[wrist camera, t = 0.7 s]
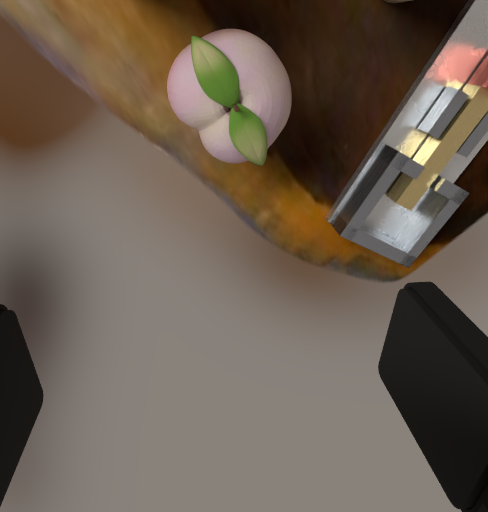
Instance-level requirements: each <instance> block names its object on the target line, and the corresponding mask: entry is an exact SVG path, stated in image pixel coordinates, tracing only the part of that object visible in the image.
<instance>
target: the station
mask: <svg viewBox="0 0 488 512" xmlns="http://www.w3.org/2000/svg"><path fill="white" fill-rule="evenodd" d="M487 55H488V0H468V1H467V3H466V4H465V6H464V7H463V9H462V10H461V12H460V13H459V15H458V16H457V18H456V20H455V21H454V23H453V24H452V26H451V27H450V29H449V30H448V32H447V33H446V35H445V36H444V38H443V39H442V41H441V42H440V44H439V45H438V47H437V48H436V50H435V51H434V53H433V54H432V56H431V57H430V59H429V60H428V62H427V63H426V65H425V66H424V68H423V70H422V71H421V73H420V74H419V76H418V77H417V79H416V80H415V82H414V83H413V85H412V86H411V88H410V89H409V91H408V92H407V94H406V95H405V97H404V98H403V100H402V101H401V103H400V104H399V106H398V107H397V109H396V110H395V112H394V113H393V115H392V117H391V118H390V120H389V121H388V123H387V124H386V126H385V127H384V129H383V130H382V132H381V133H380V135H379V136H378V138H377V139H376V141H375V142H374V144H373V145H372V147H371V148H370V150H369V151H368V153H367V154H366V156H365V157H364V159H363V160H362V162H361V164H360V165H359V167H358V168H357V170H356V171H355V173H354V174H353V176H352V177H351V179H350V180H349V182H348V183H347V185H346V186H345V188H344V189H343V191H342V192H341V194H340V195H339V197H338V198H337V200H336V201H335V203H334V204H333V206H332V207H331V209H330V211H329V212H328V214H327V215H326V217H325V218H326V220H327V221H328V222H330V223H331V224H332V226H333V227H334V228H335V230H336V231H337V232H338V234H339V235H340V236H342V237H344V238H346V239H348V240H350V241H352V242H354V243H357V244H359V245H361V246H363V247H365V248H367V249H370V250H372V251H374V252H376V253H378V254H380V255H382V256H385V257H387V258H389V259H391V260H393V261H395V262H398V263H400V264H402V265H404V266H406V267H408V268H409V267H410V266H411V264H412V263H413V262H414V261H415V259H416V258H417V257H418V256H419V255H420V253H421V252H422V251H423V250H424V248H425V247H426V246H427V245H428V244H429V242H430V241H431V240H432V239H433V237H434V236H435V235H436V234H437V233H438V231H439V230H440V229H441V228H442V226H443V225H444V224H445V223H446V222H447V220H448V219H449V218H450V217H451V215H452V214H453V213H454V212H455V211H456V209H457V208H458V207H459V206H460V204H461V203H462V202H463V201H464V200H465V198H466V197H467V196H468V195H469V193H468V192H466V191H465V190H463V189H461V188H459V187H458V186H456V185H454V184H453V183H454V182H455V181H456V179H457V178H458V177H459V176H460V174H461V173H462V172H463V171H464V169H465V168H466V167H467V166H468V164H469V163H470V162H471V160H472V159H473V158H474V157H475V155H476V154H477V153H478V152H479V150H480V149H481V148H482V146H483V145H484V144H485V143H486V141H487V140H488V111H487V112H486V114H485V115H484V116H483V117H482V119H481V120H480V121H479V123H478V124H477V125H476V127H475V128H474V129H473V131H472V132H471V133H470V135H469V136H468V137H467V138H466V140H465V141H464V142H463V144H462V145H461V146H460V148H459V149H458V150H457V152H456V153H455V154H454V155H453V157H452V158H451V159H450V161H449V162H448V163H447V165H446V166H445V167H444V169H443V170H442V171H441V173H440V174H439V175H438V176H437V178H436V179H435V180H434V182H433V183H432V184H431V186H430V187H429V188H428V190H427V191H426V192H425V194H424V195H423V196H422V197H421V199H420V200H419V201H418V203H417V204H416V205H415V207H414V208H413V209H412V211H410V210H408V209H406V208H404V207H402V206H400V205H398V204H397V203H395V202H394V201H393V200H391V199H390V198H389V197H388V196H386V195H387V194H388V193H389V191H390V190H391V188H392V187H393V186H394V184H395V183H396V181H397V180H398V179H399V177H400V176H401V175H402V173H405V174H407V175H408V176H410V177H412V178H414V179H415V180H416V179H417V178H418V176H419V175H420V174H421V172H422V171H423V170H424V168H425V167H424V166H423V165H421V164H419V163H417V162H416V161H414V160H412V159H413V158H414V156H415V155H416V154H417V152H418V151H419V149H420V148H421V147H422V145H423V144H424V142H425V141H426V140H427V138H428V137H429V136H432V137H434V138H436V139H438V138H439V137H440V135H441V134H442V132H443V131H444V130H445V128H446V127H447V126H448V124H449V123H450V121H451V120H452V119H453V117H454V116H455V115H456V113H457V112H458V110H459V109H460V108H461V106H462V105H463V104H464V102H465V101H466V100H467V98H468V97H469V95H467V94H466V93H465V92H463V91H462V90H463V88H464V87H465V85H466V84H467V83H468V81H469V80H470V78H471V77H472V76H473V74H474V73H475V71H476V70H477V69H478V67H479V66H480V64H481V63H482V62H483V60H484V59H485V57H486V56H487Z"/></svg>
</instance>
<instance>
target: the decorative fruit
mask: <svg viewBox="0 0 488 512" xmlns="http://www.w3.org/2000/svg"><path fill="white" fill-rule="evenodd" d="M167 92H168V98H169V101H170V104H171V107H172V109H173V111H174V113H175V114H176V115H177V116H178V118H179V119H180V120H181V121H183V122H184V123H185V124H187V125H189V126H191V127H193V128H196V129H197V130H198V131H199V134H200V138H201V141H202V143H203V145H204V147H205V148H206V150H207V151H208V152H209V153H210V154H211V155H212V156H214V157H215V158H217V159H219V160H221V161H224V162H228V163H242V162H246V161H250V162H252V163H254V164H258V165H260V166H263V165H264V162H265V160H266V156H267V149H268V148H269V147H270V145H271V144H272V143H273V142H274V141H275V140H276V138H277V137H278V135H279V134H280V133H281V131H282V130H283V128H284V126H285V125H286V123H287V120H288V118H289V115H290V110H291V103H292V94H291V85H290V81H289V77H288V74H287V72H286V70H285V68H284V66H283V64H282V62H281V61H280V59H279V58H278V56H277V55H276V53H275V52H274V51H273V49H272V48H271V47H270V46H269V45H268V44H267V43H265V42H264V41H263V40H262V39H260V38H259V37H257V36H255V35H254V34H252V33H249V32H247V31H244V30H240V29H222V30H217V31H214V32H211V33H209V34H207V35H205V36H203V37H201V38H199V37H197V36H192V37H191V44H190V45H188V46H187V47H186V48H184V49H183V50H182V51H181V52H180V53H179V55H178V56H177V57H176V59H175V61H174V62H173V64H172V67H171V69H170V72H169V76H168V80H167Z"/></svg>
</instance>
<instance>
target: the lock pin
mask: <svg viewBox="0 0 488 512" xmlns="http://www.w3.org/2000/svg"><path fill="white" fill-rule="evenodd" d="M462 91H463V92H465V93H466V94H467V95H469V97H468V98H467V100H466V101H465V102H464V104H463V105H462V106H461V108H460V109H459V110H458V112H457V113H456V115H455V116H454V117H453V119H452V120H451V121H450V123H449V124H448V126H447V127H446V128H445V130H444V131H443V132H442V134H441V135H440V137H439V138H438V139H436V138H434V137H432V136H429V137H428V138H427V140H426V141H425V142H424V144H423V145H422V147H421V148H420V149H419V151H418V152H417V154H416V155H415V156H414V158H413V159H412V160H414V161H416V162H417V163H419V164H421V165H423V166H424V167H425V168H424V170H423V171H422V172H421V174H420V175H419V176H418V178H417V179H416V180H415V179H414V178H412V177H410V176H408V175H407V174H405V173H402V175H401V176H400V177H399V179H398V180H397V181H396V183H395V184H394V186H393V187H392V188H391V190H390V191H389V193H388V194H387V195H386V196H388V197H389V198H390V199H391V200H393V201H394V202H395V203H397V204H398V205H400V206H402V207H404V208H406V209H408V210H410V211H412V209H413V208H414V207H415V205H416V204H417V203H418V201H419V200H420V199H421V197H422V196H423V195H424V194H425V192H426V191H427V190H428V188H429V187H430V186H431V184H432V183H433V182H434V180H435V179H436V178H437V176H438V175H439V174H440V173H441V171H442V170H443V169H444V167H445V166H446V165H447V163H448V162H449V161H450V159H451V158H452V157H453V155H454V154H455V153H456V152H457V150H458V149H459V148H460V146H461V145H462V144H463V142H464V141H465V140H466V138H467V137H468V136H469V135H470V133H471V132H472V131H473V129H474V128H475V127H476V125H477V124H478V123H479V121H480V120H481V119H482V117H483V116H484V115H485V114H486V112H487V111H488V55H487V56H486V57H485V59H484V60H483V62H482V63H481V64H480V66H479V67H478V69H477V70H476V71H475V73H474V74H473V76H472V77H471V78H470V80H469V81H468V83H467V84H466V85H465V87H464V88H463V90H462Z"/></svg>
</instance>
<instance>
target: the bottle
mask: <svg viewBox="0 0 488 512" xmlns="http://www.w3.org/2000/svg"><path fill="white" fill-rule="evenodd" d="M383 1H386V2H389V3H400V2H406V1H412V0H383Z"/></svg>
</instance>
